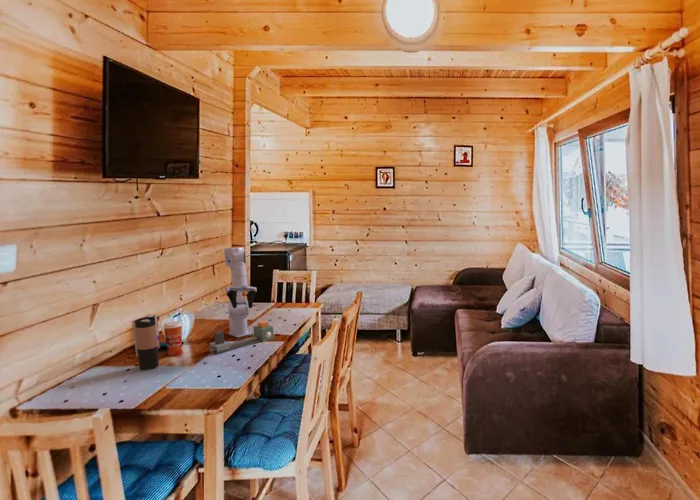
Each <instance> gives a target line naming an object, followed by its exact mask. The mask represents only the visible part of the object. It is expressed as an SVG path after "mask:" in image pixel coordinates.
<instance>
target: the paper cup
mask: <svg viewBox="0 0 700 500" xmlns="http://www.w3.org/2000/svg"><path fill="white" fill-rule="evenodd" d="M182 326H183V323H182V322H181V321H180V320H171V321H170V320H169V321H167V322H164V324H163V326H162V327H163V329H164V335H165V342H166V349H167V354H168V356H170V357H171V356H172V357H173V356H178V355H181V354H182V352H183V349H182V348H183V347H182V346H183V345H182V343H183V342H182V340H183V339H182Z"/></svg>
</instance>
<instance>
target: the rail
mask: <svg viewBox="0 0 700 500" xmlns="http://www.w3.org/2000/svg"><path fill="white" fill-rule="evenodd" d="M260 342H261V341H260V340H258V337H257V336H254V335H253V336H250V337H247V338H244V339H241V340H237V341H233V342H229V343H230V349H226V350H223V351H219V352H217V349H216V348H211V349H208V353H210V354H213V355H215V356H217V355H219V354H220V355H221V354H223V353H227V352H230V351H233V350H237V349H240V348H243V347H246V346H250V345H255V344H257V343H260Z"/></svg>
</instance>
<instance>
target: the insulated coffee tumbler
mask: <svg viewBox="0 0 700 500" xmlns="http://www.w3.org/2000/svg"><path fill="white" fill-rule="evenodd" d="M145 317H154V318H155V322H156V332H157V342H158V349H159V348H161V340H160V330H159V321H158V315H157V314H148V315H147V314H146V315H145V316H142V317H140V318H145ZM140 318H138V319H140ZM131 323H132V331H133V340H134V342H133V343H134V350H135V357H136V358H138V351H137V341H136V328H135V320H133V321H131Z"/></svg>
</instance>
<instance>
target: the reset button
mask: <svg viewBox="0 0 700 500" xmlns="http://www.w3.org/2000/svg"><path fill="white" fill-rule="evenodd" d="M257 325H258V327H260V328H265V327H268V325H269V321H267V320H261V321H258V322H257Z"/></svg>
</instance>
